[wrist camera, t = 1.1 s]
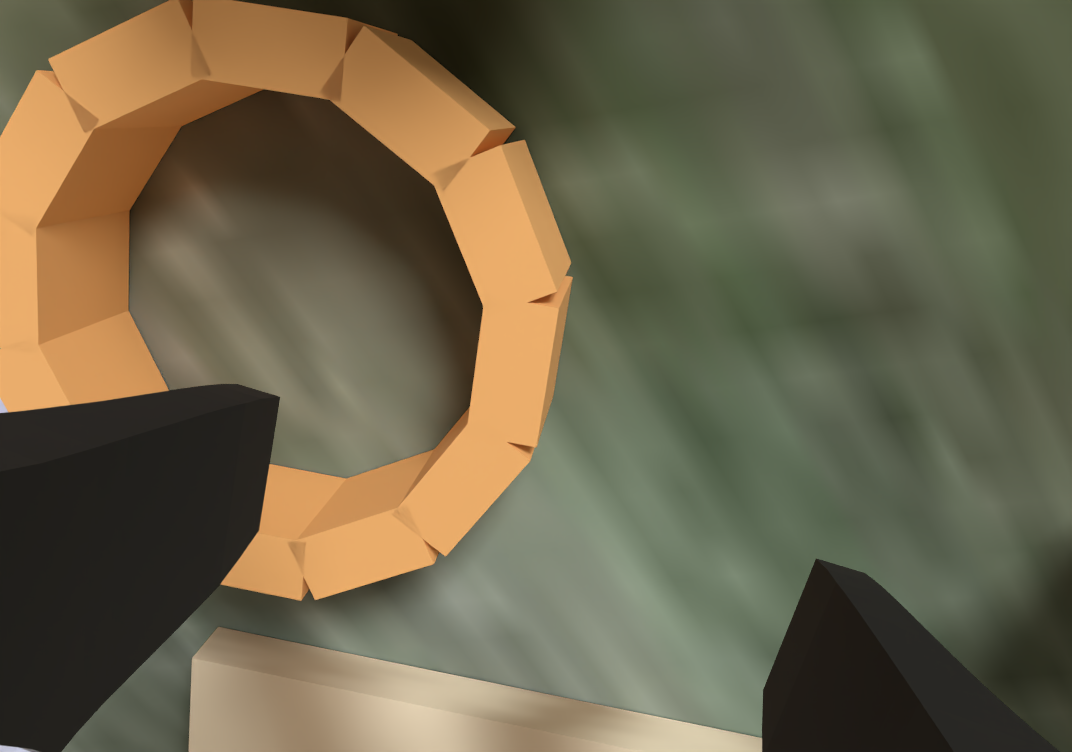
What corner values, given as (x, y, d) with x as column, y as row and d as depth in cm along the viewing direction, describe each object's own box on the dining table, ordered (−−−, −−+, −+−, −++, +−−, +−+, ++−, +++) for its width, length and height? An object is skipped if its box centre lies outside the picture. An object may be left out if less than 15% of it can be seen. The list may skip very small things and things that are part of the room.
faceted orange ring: (74, 477, 24) (-18, 536, 21) (69, -17, 20) (-43, -42, 17) (525, 565, 23) (504, 641, 20) (607, 66, 19) (599, 56, 16)
